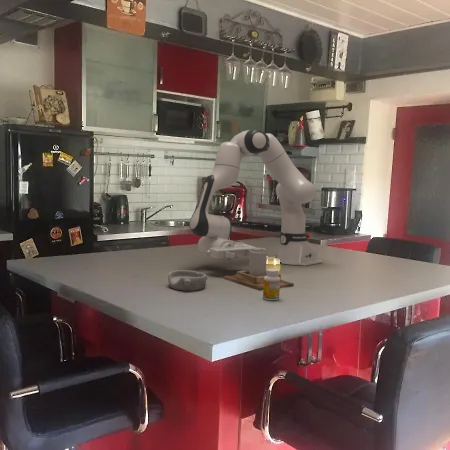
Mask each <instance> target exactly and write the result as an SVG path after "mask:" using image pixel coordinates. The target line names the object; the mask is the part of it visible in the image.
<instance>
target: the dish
mask: <svg viewBox="0 0 450 450" xmlns="http://www.w3.org/2000/svg"><path fill="white" fill-rule="evenodd" d="M167 278H168V281H167V282H168V286H169V287H170V288H172V289H173V288H174V290H178V291H184V292H185V291H187V292H191V291H192V292H193V291H200V290H202V289H205V287H206V284H207V280H208V276H207V274H205V273H204V272H198V271H196V270H185V269H184V270H183V269H181V270H179V269H178V270H173V271H170V272H169V273H168V274H167Z"/></svg>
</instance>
